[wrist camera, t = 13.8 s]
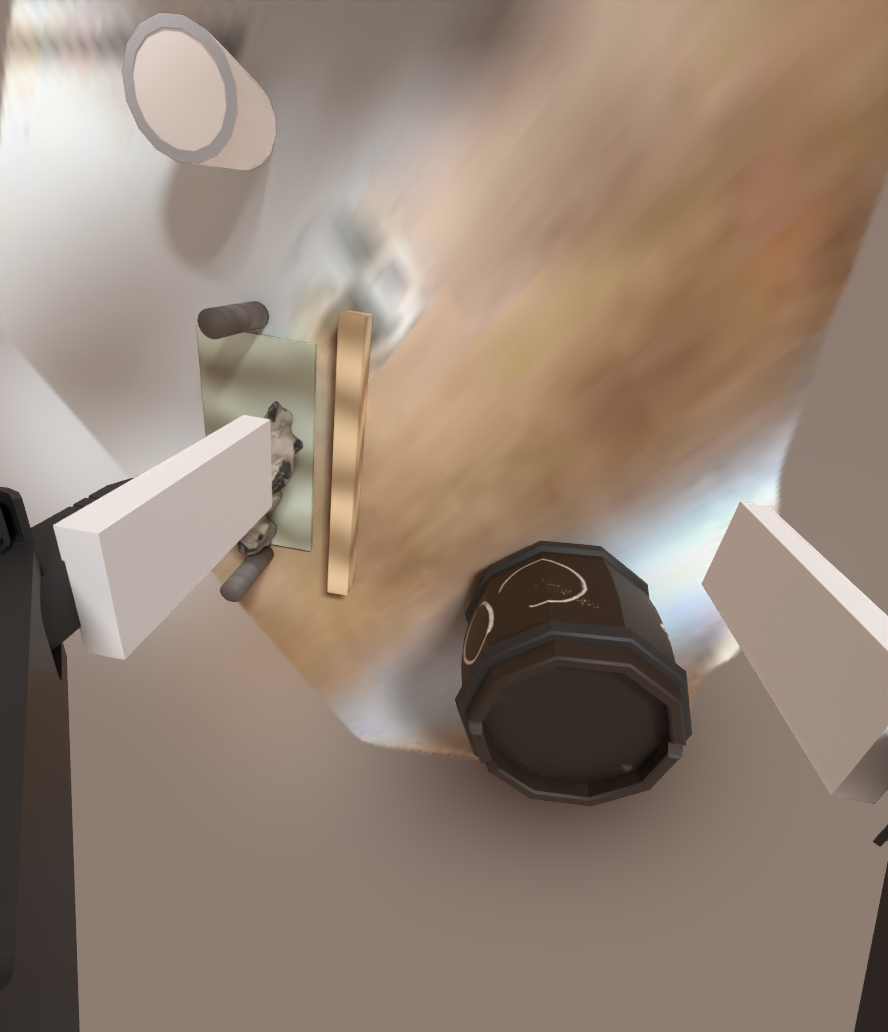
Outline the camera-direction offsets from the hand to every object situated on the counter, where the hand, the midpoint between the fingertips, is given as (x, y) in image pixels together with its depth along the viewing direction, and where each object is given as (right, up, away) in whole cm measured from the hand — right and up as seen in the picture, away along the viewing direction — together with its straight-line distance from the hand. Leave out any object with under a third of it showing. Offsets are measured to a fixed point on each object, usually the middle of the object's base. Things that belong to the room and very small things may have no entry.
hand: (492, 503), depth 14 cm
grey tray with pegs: (-16, +6, +32) cm, 36 cm away
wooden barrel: (+10, -10, +36) cm, 39 cm away
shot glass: (-16, +27, +21) cm, 38 cm away
